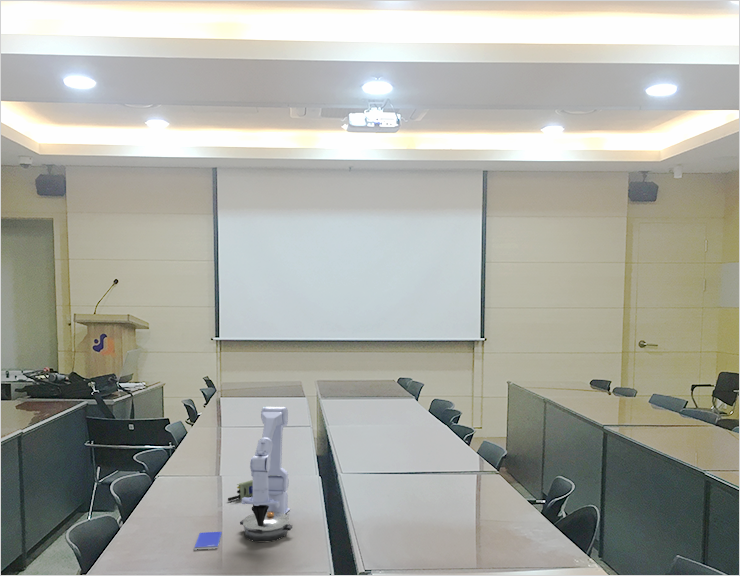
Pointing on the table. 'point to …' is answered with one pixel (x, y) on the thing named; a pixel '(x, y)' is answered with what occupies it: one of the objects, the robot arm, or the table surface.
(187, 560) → the table surface
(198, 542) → the hard drive
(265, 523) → the lid
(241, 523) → the cooker pot
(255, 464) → the robot arm
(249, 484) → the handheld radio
